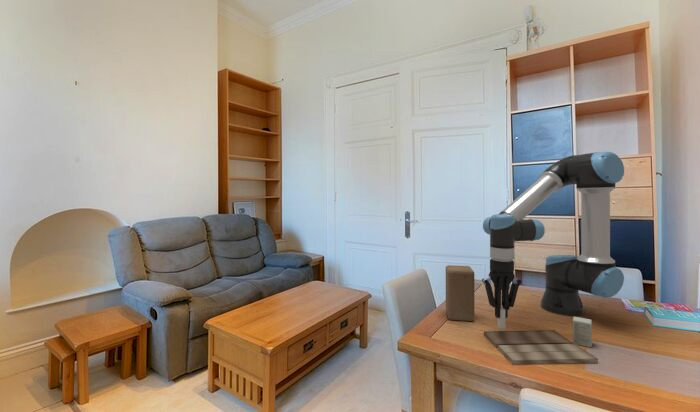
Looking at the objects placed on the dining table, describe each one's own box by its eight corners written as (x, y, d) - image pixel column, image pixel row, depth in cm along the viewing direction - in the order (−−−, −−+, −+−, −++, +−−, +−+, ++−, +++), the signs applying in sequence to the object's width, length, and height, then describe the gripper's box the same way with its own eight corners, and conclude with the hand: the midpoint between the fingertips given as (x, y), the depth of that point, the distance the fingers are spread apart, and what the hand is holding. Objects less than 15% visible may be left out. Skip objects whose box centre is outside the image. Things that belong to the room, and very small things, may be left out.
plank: (554, 333, 110) (554, 330, 110) (572, 346, 101) (572, 341, 101) (484, 335, 109) (484, 331, 109) (496, 347, 100) (496, 343, 100)
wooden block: (474, 322, 120) (474, 271, 120) (448, 320, 122) (447, 270, 122) (470, 312, 130) (470, 265, 130) (445, 311, 132) (445, 264, 132)
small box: (591, 342, 103) (592, 319, 102) (591, 348, 99) (592, 323, 99) (572, 338, 106) (573, 315, 106) (572, 343, 102) (572, 319, 102)
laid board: (575, 347, 100) (575, 343, 100) (597, 362, 91) (597, 358, 91) (497, 349, 99) (497, 345, 99) (512, 364, 90) (512, 360, 90)
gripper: (514, 256, 111) (513, 322, 112) (478, 257, 111) (477, 322, 111) (526, 261, 103) (525, 331, 104) (487, 261, 103) (487, 331, 104)
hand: (501, 326), depth 108 cm, fingers closed
